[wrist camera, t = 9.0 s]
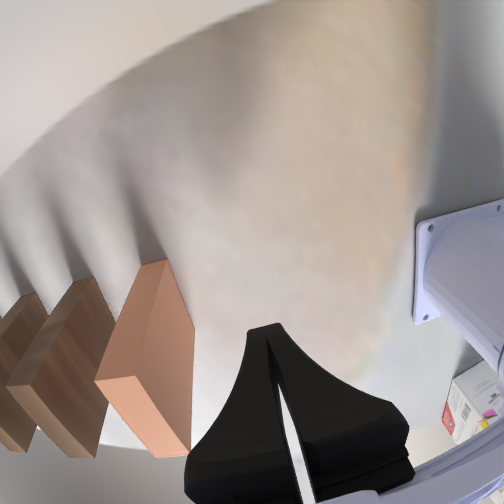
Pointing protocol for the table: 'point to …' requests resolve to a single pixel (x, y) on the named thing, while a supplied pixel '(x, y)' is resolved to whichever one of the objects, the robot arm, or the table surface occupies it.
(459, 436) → the ink cartridge box
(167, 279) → the head domino
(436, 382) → the table surface
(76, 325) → the domino
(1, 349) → the domino
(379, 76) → the table surface
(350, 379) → the table surface
